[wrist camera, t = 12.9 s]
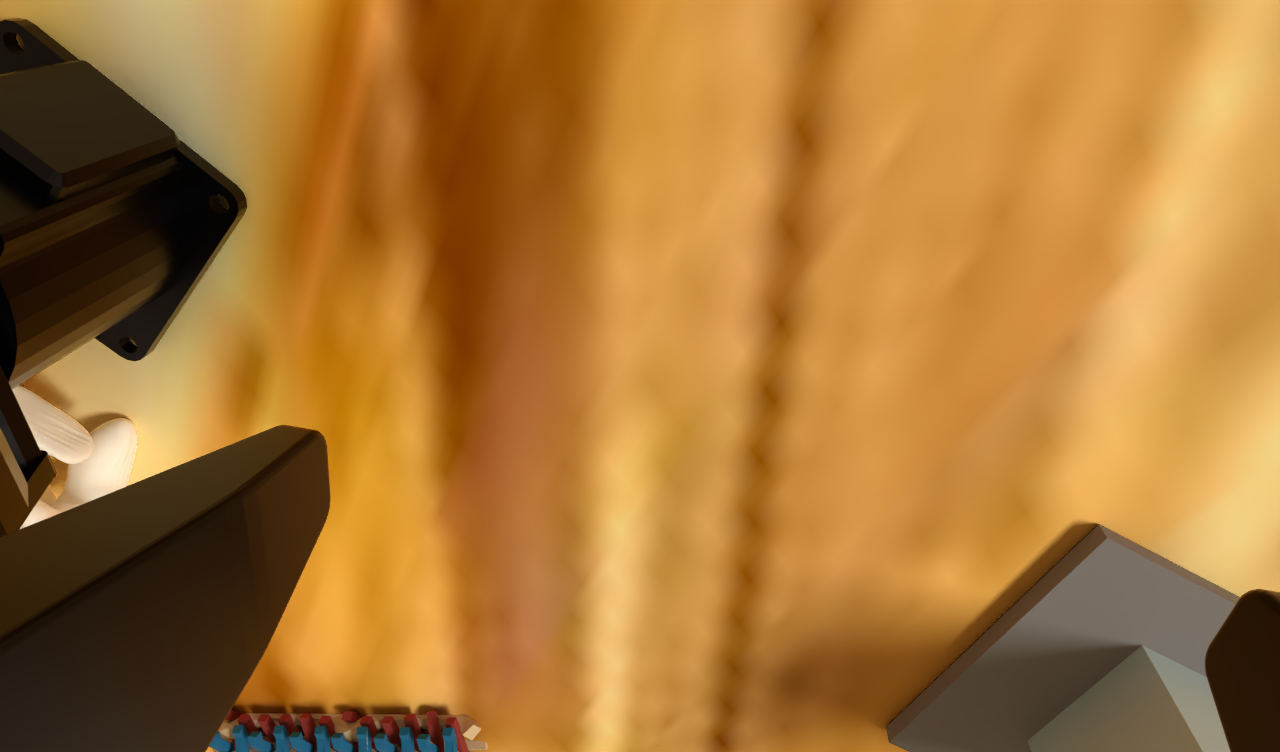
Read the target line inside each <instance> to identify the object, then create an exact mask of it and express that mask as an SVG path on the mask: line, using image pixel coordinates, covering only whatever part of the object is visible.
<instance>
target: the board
mask: <svg viewBox="0 0 1280 752" xmlns="http://www.w3.org/2000/svg"><path fill="white" fill-rule="evenodd" d="M1028 744H1029V747H1030V749H1031V752H1230V749H1229V746H1228V743H1227V740H1226V736H1225V733H1224V730H1223V727H1222V724H1221V721H1220V718H1219V714H1218V711H1217V708H1216V705H1215V702H1214V699H1213V696H1212V692H1211V689H1210V686H1209V683H1208V680H1207V677H1205V676H1203V675H1201V674H1199V673H1197V672H1195V671H1193V670H1191V669H1189V668H1187V667H1185V666H1183V665H1181V664H1179V663H1177V662H1175V661H1173V660H1171V659H1169V658H1167V657H1165V656H1163V655H1161V654H1159V653H1157V652H1155V651H1153V650H1151V649H1149V648H1147V647H1145V646H1143V645H1142V646H1140V647H1139V648H1138V649H1137V650H1136V651H1134V652H1133V653H1132V654H1131V655H1130V656H1128V657H1127V658H1126V659H1125V660H1124V661H1122V662H1121V663H1120V664H1119V665H1118V666H1116V667H1115V668H1114V669H1113V670H1112V671H1110V672H1109V673H1108V674H1107V675H1106V676H1104V677H1103V678H1102V679H1101V680H1100V681H1098V682H1097V683H1096V684H1095V685H1094V686H1092V687H1091V688H1090V689H1089V690H1088V691H1086V692H1085V693H1084V694H1083V695H1082V696H1080V697H1079V698H1078V699H1077V700H1076V701H1074V702H1073V703H1072V704H1071V705H1070V706H1068V707H1067V708H1066V709H1065V710H1064V711H1062V712H1061V713H1060V714H1059V715H1058V716H1056V717H1055V718H1054V719H1053V720H1052V721H1050V722H1049V723H1048V724H1047V725H1046V726H1044V727H1043V728H1042V729H1041V730H1040V731H1038V732H1037V733H1036V734H1035V735H1034V736H1032V737H1031V738H1030V739H1029V740H1028Z"/></svg>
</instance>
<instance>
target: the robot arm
mask: <svg viewBox="0 0 1280 752" xmlns="http://www.w3.org/2000/svg"><path fill="white" fill-rule="evenodd" d="M17 34H18V35H19V36H20V37H21V38H22V40H23V42H24V45H25V50H23V49H22V48H21V47H20V46H19V45H18V42H17V39H16V36H17ZM218 194H219V195H221V196H223V197H224V198H225V199H226V200H227V201H228V204H229V209H226V208H224V207H223V206H222V205H221V204H220V203H219V200H218ZM246 208H247V201H246V198H245V195H244V193H243V192H242V190H241V189H240V188H239V187H238V186H237V185H236V184H234V183H233V182H232V181H231V180H229V179H228V178H227V177H226V176H224V175H223V174H222V173H221V172H219V171H218V170H217V169H216V168H214V167H213V166H212V165H211V164H209V163H208V162H207V161H206V160H204V159H203V158H202V157H200V156H199V155H198V154H197V153H195V152H194V151H193V150H192V149H190V148H189V147H188V146H187V145H185V144H184V143H183V142H182V141H180V140H179V139H178V137H177V136H176V134H175V132H174V131H173V130H172V129H171V128H169V127H168V126H167V125H166V124H164V123H163V122H162V121H160V120H159V119H158V118H157V117H155V116H154V115H153V114H152V113H150V112H149V111H148V110H147V109H145V108H144V107H143V106H142V105H140V104H139V103H138V102H137V101H135V100H134V99H133V98H132V97H130V96H129V95H128V94H127V93H125V92H124V91H123V90H122V89H120V88H119V87H118V86H117V85H115V84H114V83H113V82H112V81H110V80H109V79H108V78H107V77H105V76H104V75H103V74H102V73H100V72H99V71H98V70H97V69H95V68H94V67H93V66H92V65H90V64H89V63H88V62H86V61H80V60H79V59H77V58H76V57H75V56H74V55H72V54H71V53H70V52H69V51H67V50H66V49H65V48H64V47H62V46H61V45H60V44H59V43H57V42H56V41H55V40H54V39H52V38H51V37H50V36H49V35H47V34H46V33H45V32H44V31H42V30H41V29H40V28H39V27H37V26H36V25H35V24H33V23H31V22H30V21H28V20H25V19H19V18H17V19H8V20H3V21H0V752H205V751H206V750H207V748H208V747H209V745H210V743H211V742H212V740H213V738H214V737H215V735H216V733H217V732H218V730H219V728H220V727H221V725H222V723H223V722H224V720H225V718H226V717H227V715H228V713H229V712H230V710H231V709H232V707H233V705H234V704H235V702H236V700H237V699H238V697H239V695H240V694H241V692H242V690H243V689H244V687H245V685H246V684H247V682H248V680H249V679H250V677H251V675H252V674H253V672H254V670H255V668H256V667H257V665H258V663H259V661H260V660H261V658H262V656H263V654H264V653H265V651H266V649H267V647H268V644H269V642H270V640H271V638H272V636H273V634H274V632H275V630H276V628H277V626H278V624H279V622H280V619H281V617H282V615H283V613H284V611H285V609H286V607H287V604H288V602H289V600H290V598H291V596H292V594H293V591H294V589H295V587H296V585H297V583H298V581H299V578H300V576H301V574H302V572H303V570H304V568H305V565H306V563H307V561H308V559H309V557H310V555H311V552H312V550H313V548H314V546H315V544H316V542H317V539H318V537H319V535H320V533H321V531H322V529H323V526H324V524H325V522H326V519H327V516H328V513H329V508H330V484H329V470H328V455H327V445H326V440H325V438H324V436H323V435H322V434H321V433H320V432H319V431H317V430H311V429H305V428H300V427H294V426H287V425H279V426H276V427H274V428H271V429H269V430H266V431H264V432H261V433H259V434H256V435H254V436H251V437H249V438H246V439H244V440H241V441H239V442H236V443H234V444H231V445H229V446H226V447H224V448H221V449H219V450H216V451H214V452H211V453H209V454H206V455H204V456H201V457H199V458H196V459H194V460H191V461H189V462H186V463H184V464H181V465H179V466H176V467H174V468H171V469H169V470H167V471H164V472H162V473H159V474H157V475H154V476H152V477H149V478H147V479H144V480H142V481H139V482H137V483H134V484H132V485H129V486H127V487H124V488H122V489H119V490H117V491H114V492H112V493H109V494H107V495H104V496H102V497H99V498H97V499H94V500H92V501H89V502H87V503H84V504H82V505H79V506H77V507H74V508H72V509H69V510H67V511H64V512H62V513H59V514H57V515H54V516H52V517H49V518H47V519H44V520H42V521H39V522H37V523H34V524H32V525H29V526H27V527H24V528H22V529H20V528H21V526H22V525H23V523H24V522H25V520H26V519H27V517H28V516H29V514H30V513H31V511H32V510H33V508H34V507H35V505H36V504H37V502H38V501H39V499H40V498H41V496H42V495H43V493H44V492H45V490H46V489H47V487H48V486H49V484H50V483H51V481H52V480H53V478H54V477H55V475H56V470H55V468H54V466H53V464H52V462H51V459H50V457H49V455H48V453H47V452H46V451H43V450H40V449H39V446H38V444H37V442H36V440H35V438H34V436H33V433H32V431H31V429H30V427H29V425H28V423H27V420H26V418H25V416H24V414H23V412H22V410H21V408H20V405H19V403H18V401H17V399H16V397H15V395H14V392H13V390H12V389H13V388H15V387H17V386H18V385H20V384H21V383H23V382H25V381H26V380H28V379H29V378H31V377H33V376H34V375H36V374H37V373H39V372H41V371H42V370H44V369H45V368H47V367H49V366H50V365H52V364H53V363H55V362H56V361H58V360H60V359H61V358H63V357H64V356H66V355H68V354H69V353H71V352H72V351H74V350H76V349H77V348H79V347H80V346H82V345H84V344H85V343H87V342H88V341H90V340H92V339H93V338H96V339H97V340H98V341H100V342H101V343H103V344H104V345H106V346H107V347H108V348H110V349H111V350H113V351H114V352H115V353H117V354H118V355H120V356H121V357H123V358H125V359H127V360H131V361H138V360H141V359H142V358H144V357H145V356H147V355H148V354H149V353H151V352H152V351H153V350H154V348H155V347H156V345H157V344H158V342H159V341H160V339H161V338H162V336H163V335H164V333H165V332H166V330H167V329H168V327H169V326H170V324H171V323H172V321H173V320H174V318H175V317H176V315H177V314H178V312H179V311H180V309H181V308H182V306H183V305H184V303H185V302H186V300H187V299H188V297H189V296H190V294H191V293H192V291H193V290H194V288H195V287H196V285H197V284H198V282H199V281H200V279H201V278H202V276H203V275H204V273H205V272H206V270H207V269H208V267H209V266H210V264H211V263H212V261H213V260H214V258H215V257H216V255H217V254H218V252H219V251H220V249H221V248H222V246H223V245H224V243H225V242H226V240H227V239H228V237H229V236H230V234H231V233H232V231H233V230H234V228H235V227H236V225H237V224H238V222H239V221H240V219H241V218H242V216H243V215H244V213H245V211H246ZM129 338H131V339H133V340H134V341H135V342H136V344H137V346H136V345H134V344H133V343H132V342H131V341H130V339H129ZM1205 672H1206V677H1207V680H1208V683H1209V686H1210V689H1211V692H1212V696H1213V699H1214V702H1215V705H1216V708H1217V711H1218V714H1219V718H1220V721H1221V724H1222V727H1223V730H1224V733H1225V736H1226V740H1227V743H1228V746H1229V749H1230V752H1280V592H1275V591H1269V590H1263V589H1256V590H1250V591H1248V592H1247V593H1245V594H1244V595H1242V596H1241V598H1240V599H1239V600H1238V601H1237V603H1236V605H1235V606H1234V608H1233V609H1232V611H1231V612H1230V614H1229V615H1228V617H1227V618H1226V620H1225V622H1224V623H1223V625H1222V626H1221V628H1220V629H1219V631H1218V632H1217V634H1216V635H1215V637H1214V638H1213V640H1212V642H1211V643H1210V645H1209V647H1208V649H1207V652H1206V655H1205Z"/></svg>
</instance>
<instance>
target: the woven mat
mask: <svg viewBox="0 0 1280 752" xmlns="http://www.w3.org/2000/svg"><path fill="white" fill-rule="evenodd" d="M426 714H427V715H416V714H406V715H403V714H368V715H366V716H363V717H362V718H361V717H360V715H359V713H356V712H352V711H344V712H343V714H311V713H303V714H250V713H247V714H241V715H240V713H239V712H238V711H234V710H230V712H229V713H228V715H227V717H226V718H225V720H224V722H223V723H222V725H221V727H220V728H219V730H218V732H217V733H216V735H215V737H214V738H213V740H212V742H211V743H210V745H209V746H210V747H211V748H213V752H469V751H470V750H486V749H488V747H487V744H486V742H484V741H472V740H473V739H474V737H475V736H476V735H477V734H478V733H479V731H480V730H481V728H480V726H479V725H478V723H477V722H476V721H475V720H473V719H472V718H470V717H468V716H467V715H437V712H436V710H433V711H428V712H426ZM297 727H302V729H303V732H304V735H305V736H302V732H298V730H297ZM258 728H262V729H263V731H264V732H265V734H266V736H262V733H261V732H258V730H257V729H258ZM382 728H384V730H385V732H386V734H382V733H379V732H378V731H379V730H380V729H382ZM420 729H428V730H429V734H430V735H429V734H422V733H421V730H420ZM440 729H443V735H442V733H441V730H440ZM387 736H388V737H387ZM464 736H465V737H467V738H468V739H470V740H465V739H464ZM221 737H222V738H221ZM226 739H232V743H230V742H228V741H226Z"/></svg>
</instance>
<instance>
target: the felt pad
mask: <svg viewBox="0 0 1280 752" xmlns="http://www.w3.org/2000/svg"><path fill="white" fill-rule="evenodd" d="M1239 599H1240V597H1238V596H1236V595H1234V594H1232V593H1230V592H1229V591H1227V590H1225V589H1223V588H1221V587H1219V586H1217V585H1215V584H1213V583H1211V582H1209V581H1207V580H1205V579H1203V578H1202V577H1200V576H1198V575H1196V574H1194V573H1192V572H1190V571H1188V570H1186V569H1184V568H1182V567H1180V566H1178V565H1177V564H1175V563H1173V562H1171V561H1169V560H1167V559H1165V558H1163V557H1161V556H1159V555H1157V554H1155V553H1153V552H1152V551H1150V550H1148V549H1146V548H1144V547H1142V546H1140V545H1138V544H1136V543H1134V542H1132V541H1130V540H1128V539H1126V538H1125V537H1123V536H1121V535H1119V534H1117V533H1115V532H1113V531H1111V530H1109V529H1107V528H1105V527H1103V526H1101V525H1100V524H1098V525H1097V526H1096V527H1095V528H1094V529H1093V530H1092V531H1091V532H1090V533H1089V534H1088V535H1087V536H1086V537H1085V538H1084V539H1083V540H1082V541H1081V542H1080V543H1079V544H1078V545H1076V546H1075V547H1074V548H1073V549H1072V550H1071V551H1070V552H1069V553H1068V554H1067V555H1066V556H1065V557H1064V558H1063V559H1062V560H1061V561H1060V562H1059V563H1058V564H1057V565H1056V566H1054V567H1053V568H1052V569H1051V570H1050V571H1049V572H1048V573H1047V574H1046V575H1045V576H1044V577H1043V578H1042V579H1041V580H1040V581H1039V582H1038V583H1037V584H1036V585H1035V586H1034V587H1032V588H1031V589H1030V590H1029V591H1028V592H1027V593H1026V594H1025V595H1024V596H1023V597H1022V598H1021V599H1020V600H1019V601H1018V602H1017V603H1016V604H1015V605H1014V606H1013V607H1011V608H1010V609H1009V610H1008V611H1007V612H1006V613H1005V614H1004V615H1003V616H1002V617H1001V618H1000V619H999V620H998V621H997V622H996V623H995V624H994V625H993V626H992V627H991V628H989V629H988V630H987V631H986V632H985V633H984V634H983V635H982V636H981V637H980V638H979V639H978V640H977V641H976V642H975V643H974V644H973V645H972V646H971V647H970V648H969V649H967V650H966V651H965V652H964V653H963V654H962V655H961V656H960V657H959V658H958V659H957V660H956V661H955V662H954V663H953V664H952V665H951V666H950V667H949V668H948V669H947V670H945V671H944V672H943V673H942V674H941V675H940V676H939V677H938V678H937V679H936V680H935V681H934V682H933V683H932V684H931V685H930V686H929V687H928V688H927V689H926V690H925V691H923V692H922V693H921V694H920V695H919V696H918V697H917V698H916V699H915V700H914V701H913V702H912V703H911V704H910V705H909V706H908V707H907V708H906V709H905V710H904V711H903V712H901V713H900V714H899V715H898V716H897V717H896V718H895V719H894V720H893V721H892V722H891V723H890V724H889V725H888V726H887V727H886V728H887V733H888V739H889V743H892V744H894V745H896V746H898V747H900V748H903V749H905V750H907V751H909V752H1031V749H1030V747H1029V744H1028V740H1029V739H1030V738H1031V737H1032V736H1034V735H1035V734H1036V733H1037V732H1038V731H1040V730H1041V729H1042V728H1043V727H1044V726H1046V725H1047V724H1048V723H1049V722H1050V721H1052V720H1053V719H1054V718H1055V717H1056V716H1058V715H1059V714H1060V713H1061V712H1062V711H1064V710H1065V709H1066V708H1067V707H1068V706H1070V705H1071V704H1072V703H1073V702H1074V701H1076V700H1077V699H1078V698H1079V697H1080V696H1082V695H1083V694H1084V693H1085V692H1086V691H1088V690H1089V689H1090V688H1091V687H1092V686H1094V685H1095V684H1096V683H1097V682H1098V681H1100V680H1101V679H1102V678H1103V677H1104V676H1106V675H1107V674H1108V673H1109V672H1110V671H1112V670H1113V669H1114V668H1115V667H1116V666H1118V665H1119V664H1120V663H1121V662H1122V661H1124V660H1125V659H1126V658H1127V657H1128V656H1130V655H1131V654H1132V653H1133V652H1134V651H1136V650H1137V649H1138V648H1139V647H1140V646H1142V645H1143V646H1145V647H1147V648H1149V649H1151V650H1153V651H1155V652H1157V653H1159V654H1161V655H1163V656H1165V657H1167V658H1169V659H1171V660H1173V661H1175V662H1177V663H1179V664H1181V665H1183V666H1185V667H1187V668H1189V669H1191V670H1193V671H1195V672H1197V673H1199V674H1201V675H1203V676H1205V677H1206V672H1205V655H1206V652H1207V649H1208V647H1209V645H1210V643H1211V642H1212V640H1213V638H1214V637H1215V635H1216V634H1217V632H1218V631H1219V629H1220V628H1221V626H1222V625H1223V623H1224V622H1225V620H1226V618H1227V617H1228V615H1229V614H1230V612H1231V611H1232V609H1233V608H1234V606H1235V605H1236V603H1237V601H1238V600H1239Z"/></svg>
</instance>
